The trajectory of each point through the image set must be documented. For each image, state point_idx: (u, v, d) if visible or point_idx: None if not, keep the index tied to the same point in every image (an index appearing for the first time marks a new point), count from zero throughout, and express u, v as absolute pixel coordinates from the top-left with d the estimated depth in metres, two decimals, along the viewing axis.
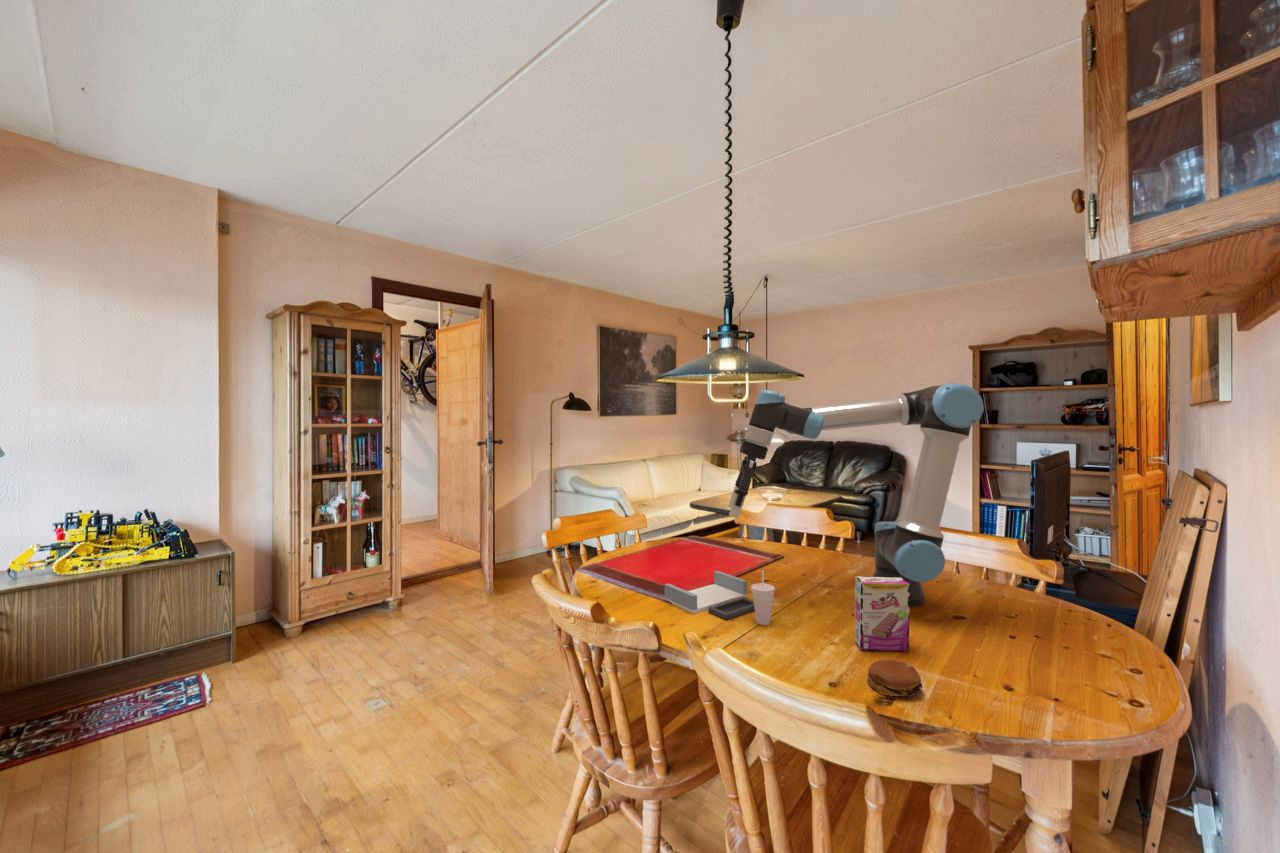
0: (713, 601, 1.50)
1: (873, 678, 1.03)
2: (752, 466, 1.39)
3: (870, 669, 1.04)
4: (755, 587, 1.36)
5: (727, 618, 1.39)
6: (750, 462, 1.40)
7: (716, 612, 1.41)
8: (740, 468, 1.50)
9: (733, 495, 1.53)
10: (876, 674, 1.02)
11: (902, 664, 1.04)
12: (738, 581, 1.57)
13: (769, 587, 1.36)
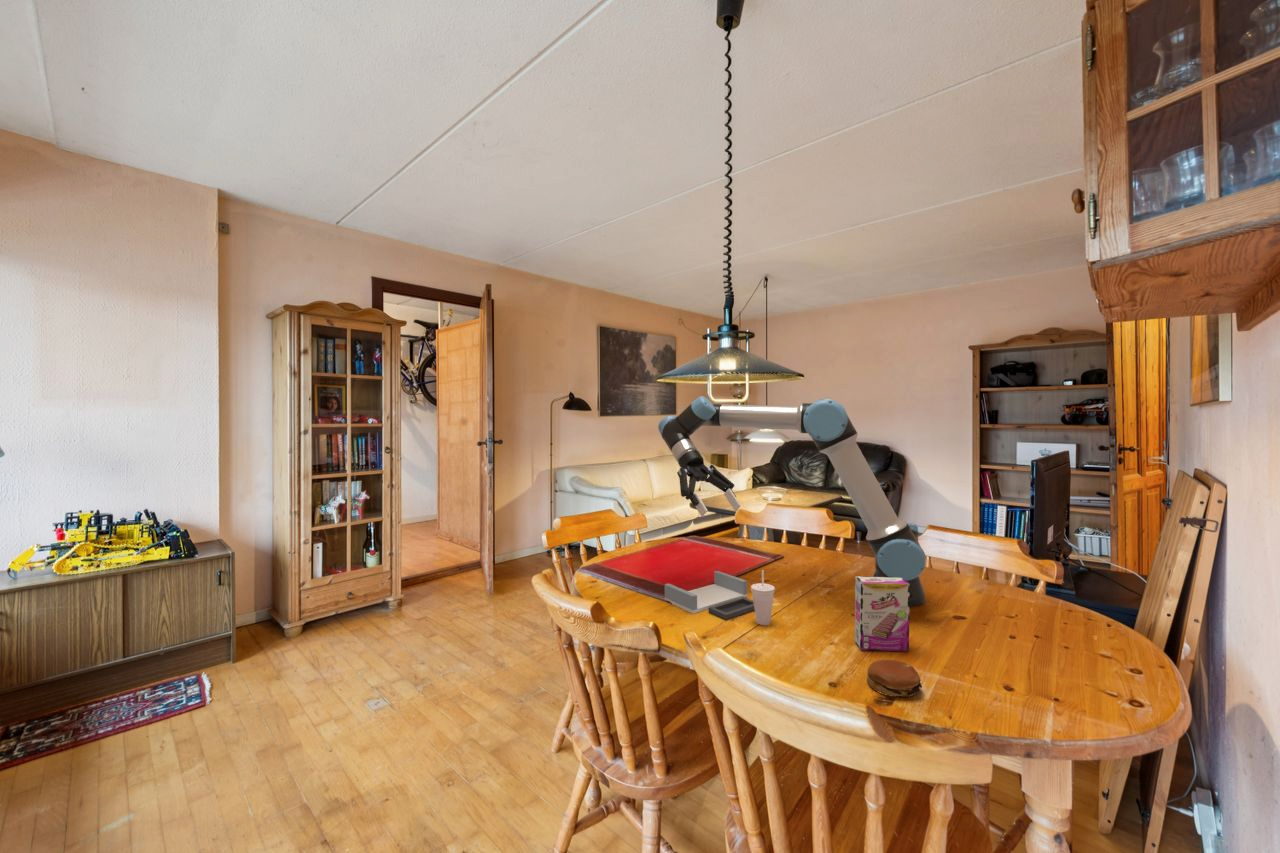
0: (713, 601, 1.50)
1: (872, 678, 1.03)
2: (681, 472, 1.53)
3: (870, 669, 1.04)
4: (755, 587, 1.36)
5: (727, 618, 1.39)
6: (678, 471, 1.54)
7: (716, 612, 1.41)
8: None
9: (729, 500, 1.55)
10: (876, 674, 1.02)
11: (902, 664, 1.04)
12: (738, 581, 1.57)
13: (769, 587, 1.36)
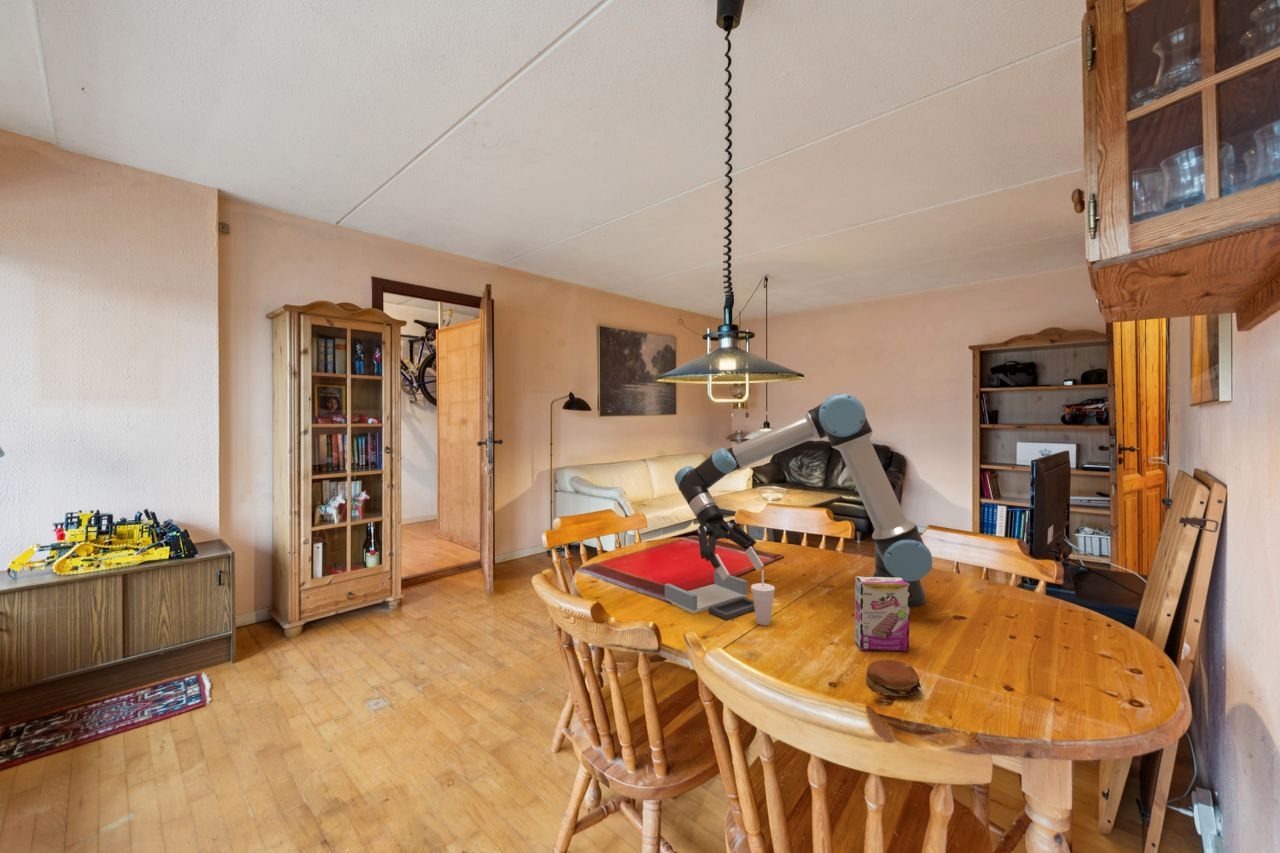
0: (713, 601, 1.50)
1: (871, 678, 1.03)
2: (700, 530, 1.45)
3: (868, 669, 1.04)
4: (755, 587, 1.36)
5: (727, 618, 1.39)
6: (697, 529, 1.46)
7: (716, 612, 1.41)
8: (725, 536, 1.51)
9: (750, 558, 1.48)
10: (874, 673, 1.02)
11: (901, 664, 1.04)
12: (738, 581, 1.57)
13: (769, 587, 1.36)
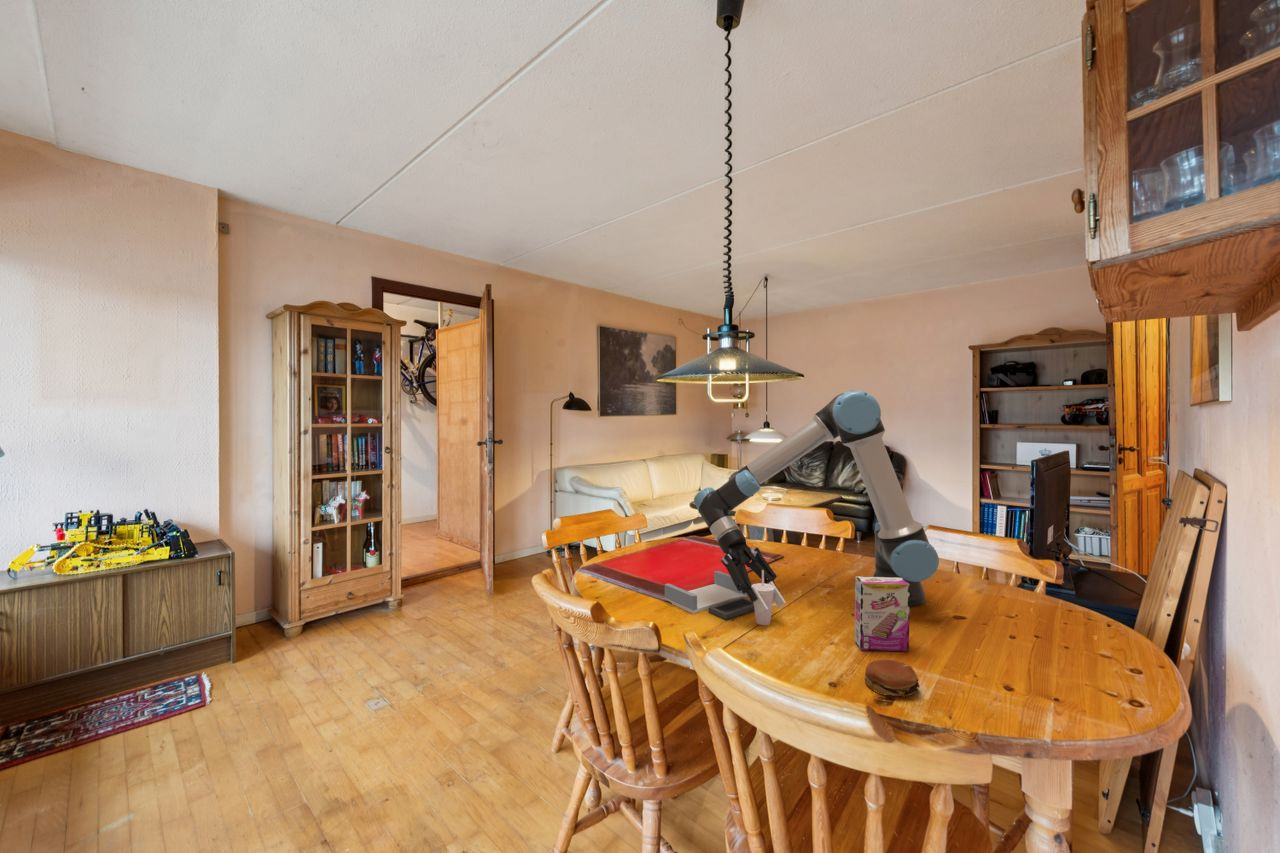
0: (713, 601, 1.50)
1: (870, 677, 1.03)
2: (726, 561, 1.38)
3: (867, 668, 1.04)
4: (755, 587, 1.36)
5: (727, 618, 1.39)
6: (723, 560, 1.39)
7: (716, 612, 1.41)
8: None
9: None
10: (873, 673, 1.02)
11: (900, 664, 1.05)
12: None
13: (769, 587, 1.36)
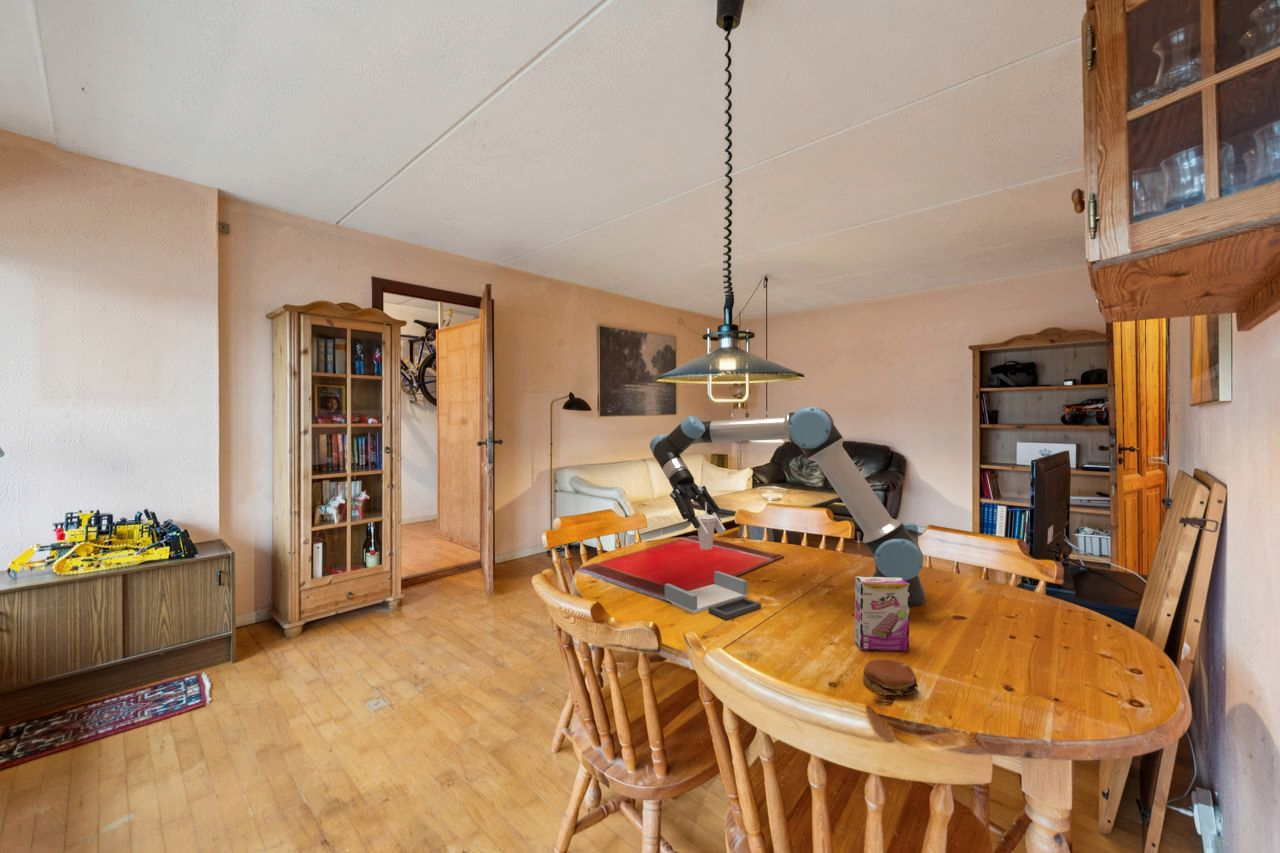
0: (713, 601, 1.50)
1: (868, 677, 1.03)
2: (674, 494, 1.56)
3: (866, 668, 1.04)
4: (699, 517, 1.54)
5: (727, 618, 1.39)
6: (671, 494, 1.57)
7: (716, 612, 1.41)
8: None
9: None
10: (871, 673, 1.02)
11: (898, 664, 1.05)
12: (738, 581, 1.57)
13: (711, 516, 1.54)
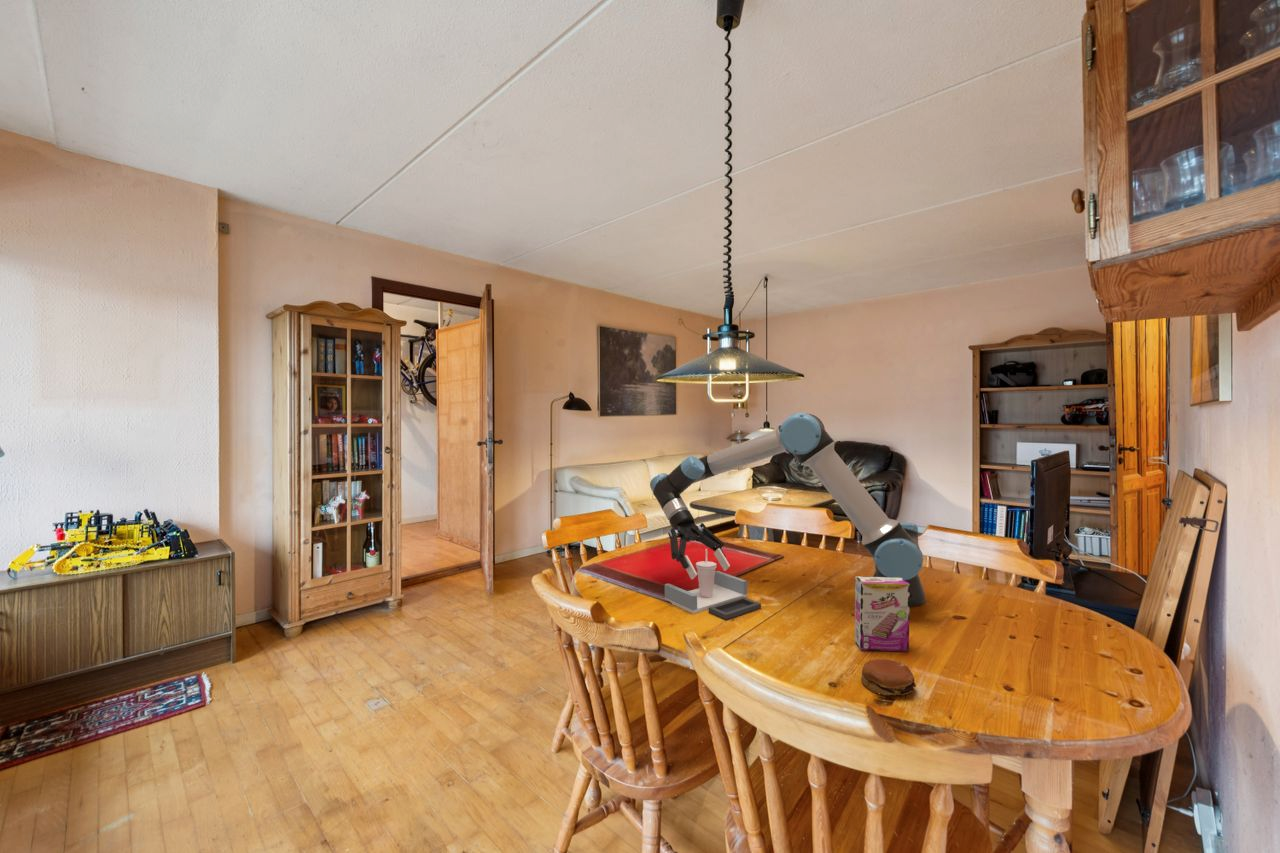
0: (713, 601, 1.50)
1: (866, 677, 1.03)
2: (671, 533, 1.57)
3: (864, 668, 1.05)
4: (699, 564, 1.55)
5: (727, 618, 1.39)
6: (669, 532, 1.58)
7: (716, 612, 1.41)
8: None
9: (718, 559, 1.59)
10: (869, 672, 1.02)
11: (896, 663, 1.05)
12: (738, 581, 1.57)
13: (711, 564, 1.55)
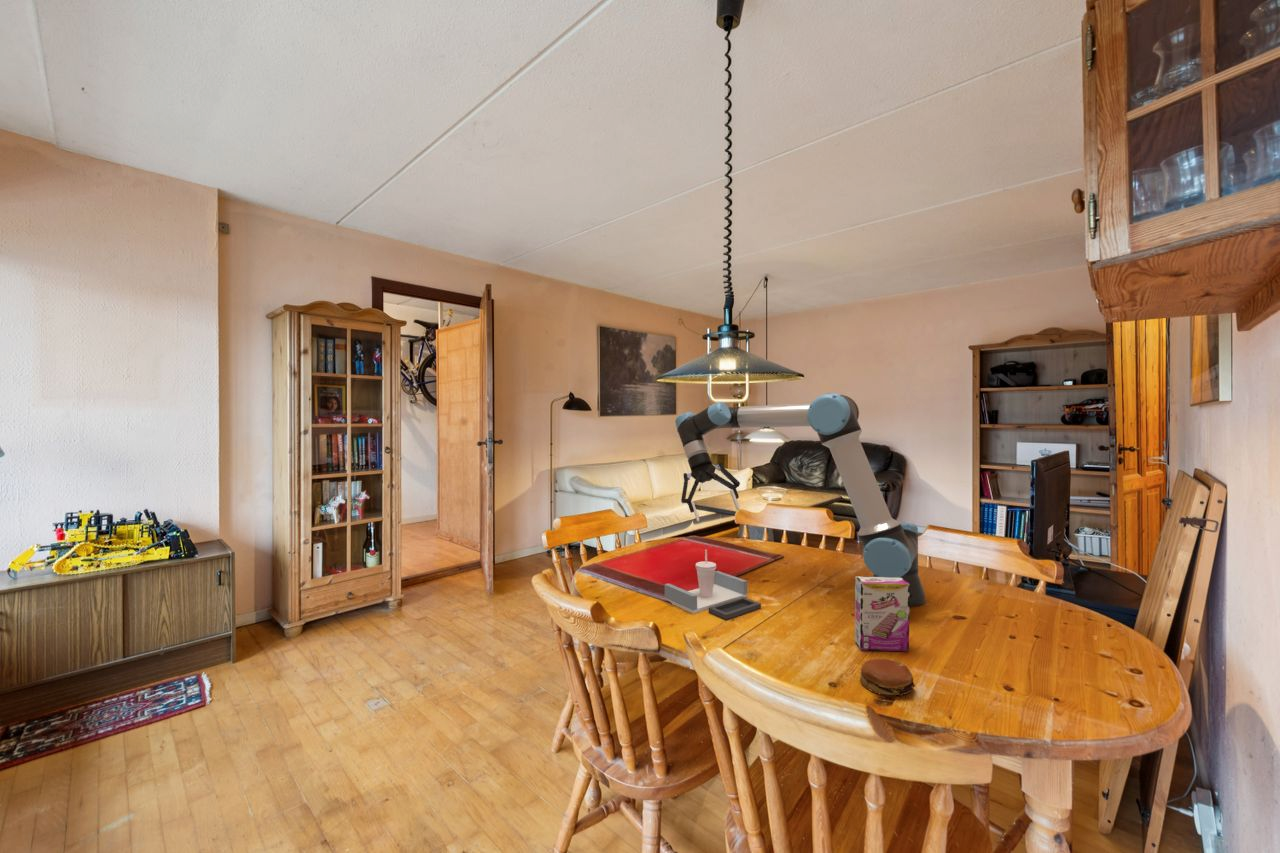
0: (713, 601, 1.50)
1: (865, 676, 1.03)
2: (684, 478, 1.70)
3: (863, 668, 1.05)
4: (699, 564, 1.55)
5: (727, 618, 1.39)
6: None
7: (716, 612, 1.41)
8: None
9: (732, 498, 1.68)
10: (868, 672, 1.02)
11: (895, 663, 1.05)
12: (738, 581, 1.57)
13: (711, 564, 1.55)
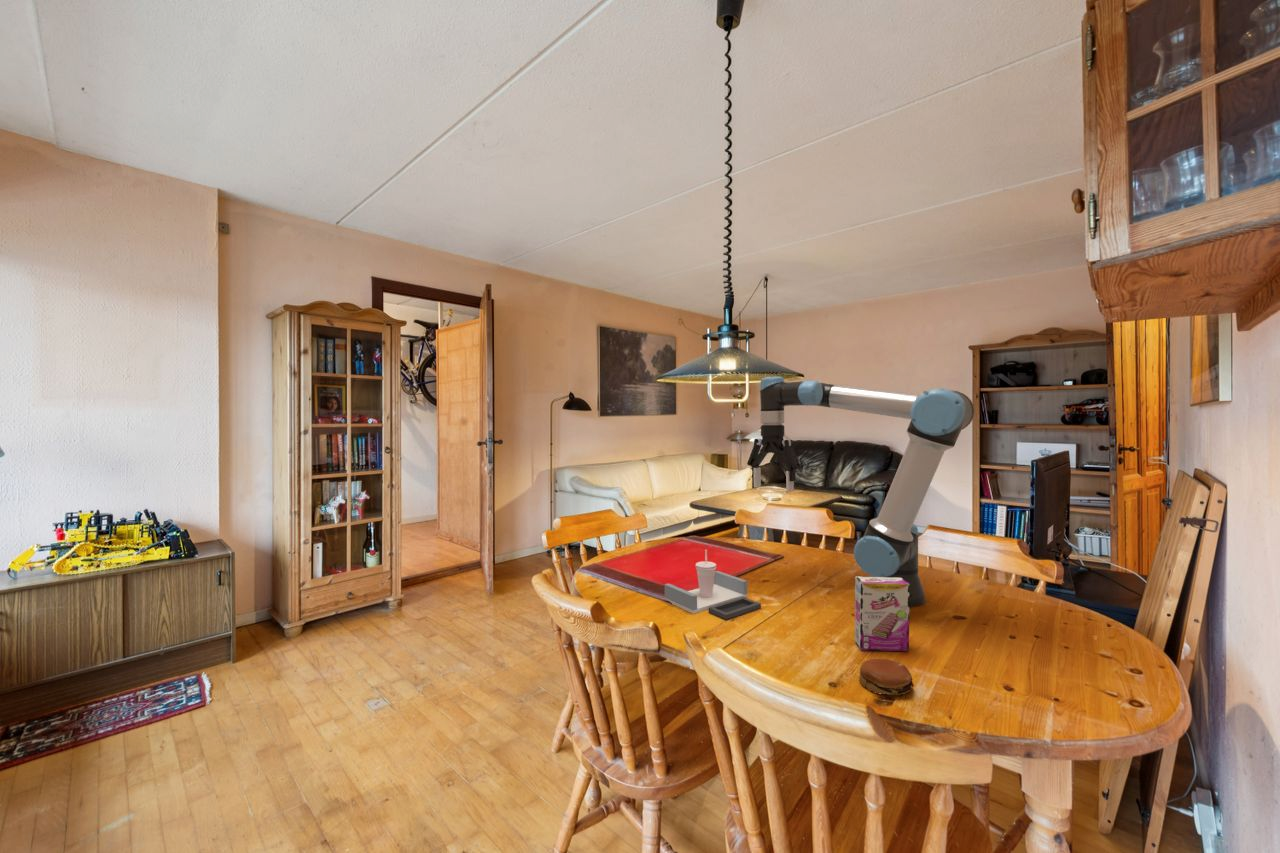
0: (713, 601, 1.50)
1: (864, 676, 1.03)
2: None
3: (862, 667, 1.05)
4: (699, 564, 1.55)
5: (727, 618, 1.39)
6: None
7: (716, 612, 1.41)
8: None
9: None
10: (867, 672, 1.03)
11: (894, 663, 1.05)
12: (738, 581, 1.57)
13: (711, 564, 1.55)
